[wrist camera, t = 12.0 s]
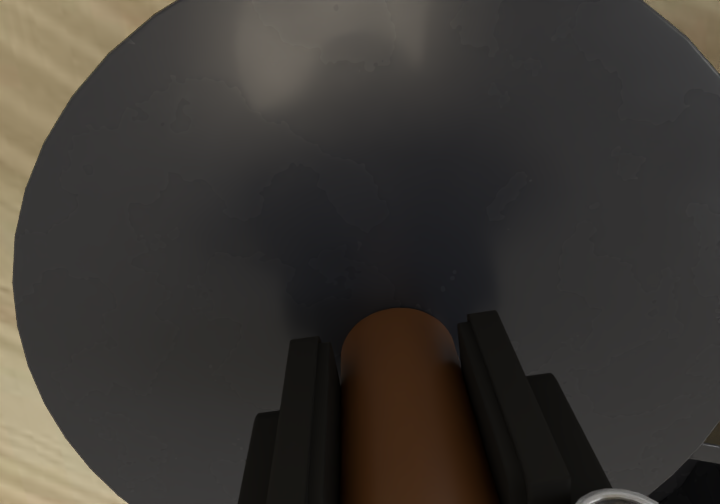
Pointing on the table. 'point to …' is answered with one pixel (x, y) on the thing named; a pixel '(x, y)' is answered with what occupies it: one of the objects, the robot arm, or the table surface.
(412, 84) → the pan lid
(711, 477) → the pan
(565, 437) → the robot arm
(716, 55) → the table surface
